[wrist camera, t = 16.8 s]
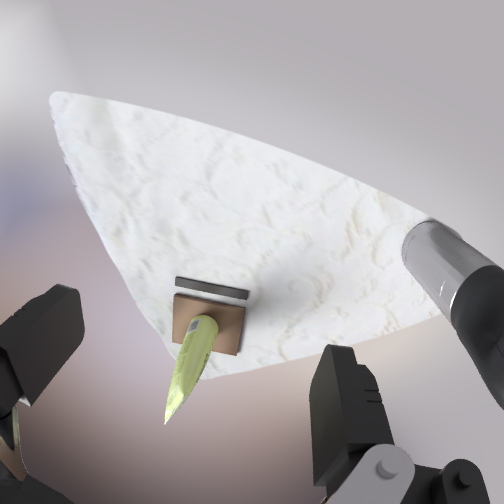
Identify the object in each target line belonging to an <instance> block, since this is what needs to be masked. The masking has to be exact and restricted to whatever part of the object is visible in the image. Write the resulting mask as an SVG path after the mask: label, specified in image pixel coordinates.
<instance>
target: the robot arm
mask: <svg viewBox="0 0 504 504" xmlns="http://www.w3.org/2000/svg"><path fill="white" fill-rule="evenodd" d="M402 260H403V263H404V265H405V267H406V268H407V269H408V271H409V272H410V273H411V274H412V275H413V277H414V278H415V279H416V280H417V282H418V283H419V284H420V285H421V286H422V288H423V289H424V290H425V291H426V293H427V294H428V295H429V296H430V298H431V299H432V300H433V301H434V303H435V304H436V305H437V306H438V308H439V309H440V310H441V312H442V313H443V314H444V315H445V317H446V318H447V319H448V320H449V322H450V323H451V325H452V326H453V327H454V329H455V330H456V332H457V335H458V337H459V339H460V341H461V342H462V344H463V345H464V347H465V348H466V350H467V351H468V353H469V355H470V357H471V358H472V360H473V362H474V364H475V365H476V367H477V369H478V371H479V373H480V375H481V377H482V379H483V380H484V382H485V384H486V386H487V387H488V389H489V391H490V393H491V394H492V396H493V397H494V399H495V400H496V402H497V403H498V404H499V406H500V407H501V408H502V409H503V410H504V270H503V269H502V268H500V267H499V266H498V265H497V264H495V263H494V262H492V261H491V260H490V259H489V258H487V257H486V256H484V255H483V254H482V253H480V252H479V251H477V250H476V249H475V248H473V247H472V246H470V245H469V244H467V243H466V242H465V241H463V240H462V239H460V238H459V237H457V236H456V235H454V234H453V233H452V232H450V231H449V230H447V229H445V228H444V227H442V226H441V225H439V224H438V223H434V222H424V223H421V224H419V225H417V226H416V227H414V228H413V229H412V230H411V231H410V232H409V233H408V235H407V237H406V238H405V241H404V243H403V247H402ZM84 332H85V327H84V320H83V314H82V308H81V300H80V294H79V292H78V290H77V289H74V288H71V287H67V286H64V285H61V284H56V285H55V286H53V287H52V288H51V289H50V290H48V291H47V292H46V293H45V294H43V295H40V296H38V297H36V298H33V299H31V300H30V301H29V302H27V303H26V304H25V305H24V306H22V308H21V309H19V310H18V311H17V312H15V313H14V316H11V317H9V318H8V319H7V320H6V321H5V322H4V323H3V324H2V325H0V504H74V503H73V502H71V501H70V500H69V499H68V498H66V497H65V496H64V495H63V494H61V493H59V492H57V491H55V490H54V489H52V488H50V487H48V486H47V485H45V484H43V483H41V482H40V481H38V480H36V479H35V478H33V477H31V476H30V475H28V472H27V470H26V468H25V466H24V463H23V461H22V457H21V450H20V441H19V428H18V411H17V407H16V405H15V404H16V403H17V402H18V400H20V401H22V402H24V403H25V404H27V405H29V406H30V407H31V406H32V405H33V403H34V402H35V401H36V399H37V398H38V397H39V395H40V394H41V393H42V391H43V390H44V389H45V388H46V386H47V385H48V384H49V382H50V381H51V380H52V379H53V377H54V376H55V375H56V374H57V372H58V371H59V370H60V368H61V367H62V366H63V365H64V364H65V362H66V361H67V360H68V359H69V357H70V356H71V355H72V354H73V352H74V351H75V350H76V349H77V348H78V346H79V345H80V344H81V342H82V340H83V337H84ZM309 402H310V415H311V416H310V417H311V434H312V453H313V479H314V480H313V481H314V486H326V491H327V496H326V497H325V498H324V499H323V500H322V502H321V503H320V504H490V501H489V497H488V494H487V490H486V486H485V483H484V480H483V477H482V474H481V472H480V470H479V468H478V467H477V466H476V465H475V464H473V463H472V462H470V461H468V460H465V459H456V460H453V461H451V462H450V463H448V464H447V465H446V466H445V467H444V468H443V469H436V468H430V467H425V466H419V465H416V464H414V463H413V460H412V458H411V457H410V455H409V454H408V453H407V452H406V451H404V450H403V449H401V448H400V447H397V446H395V444H394V441H393V437H392V434H391V430H390V426H389V423H388V419H387V416H386V412H385V409H384V405H383V404H382V398H381V395H380V393H379V389H378V385H377V382H376V379H375V377H374V375H373V374H372V373H371V372H370V370H369V369H368V368H367V367H366V366H365V365H360V364H357V361H356V358H355V354H354V350H353V348H352V347H346V346H338V345H330V344H328V345H327V346H326V347H325V349H324V352H323V354H322V357H321V360H320V362H319V365H318V367H317V370H316V372H315V374H314V377H313V379H312V383H311V387H310V394H309Z"/></svg>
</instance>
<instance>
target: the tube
mask: <svg viewBox="0 0 504 504" xmlns="http://www.w3.org/2000/svg"><path fill="white" fill-rule="evenodd" d="M217 333H218V324H217V322H216V321H215V320H214V319H213V318H211V317H209V316H207V315H198V316H196V317H194V318H193V319H192V321H191V323H190V325H189V328H188V330H187V333H186V336H185V338H184V341H183V344H182V347H181V350H180V353H179V356H178V359H177V362H176V366H175V370H174V374H173V377H172V381H171V386H170V390H169V394H168V399H167V405H166V413H165V423H164V424H166V423H167V421H168V420H169V419H170V418H171V417H172V416H173V415H174V414H175V413H176V411H177V410H178V409H179V408H180V407H181V405H182V404H183V403H184V401H185V400H186V399H187V397H188V396H189V394H190V393H191V392H192V390H193V388H194V387H195V385H196V383H197V381H198V380H199V378H200V376H201V374H202V372H203V370H204V368H205V365H206V363H207V360H208V358H209V356H210V353H211V350H212V348H213V345H214V342H215V339H216V336H217Z"/></svg>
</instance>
